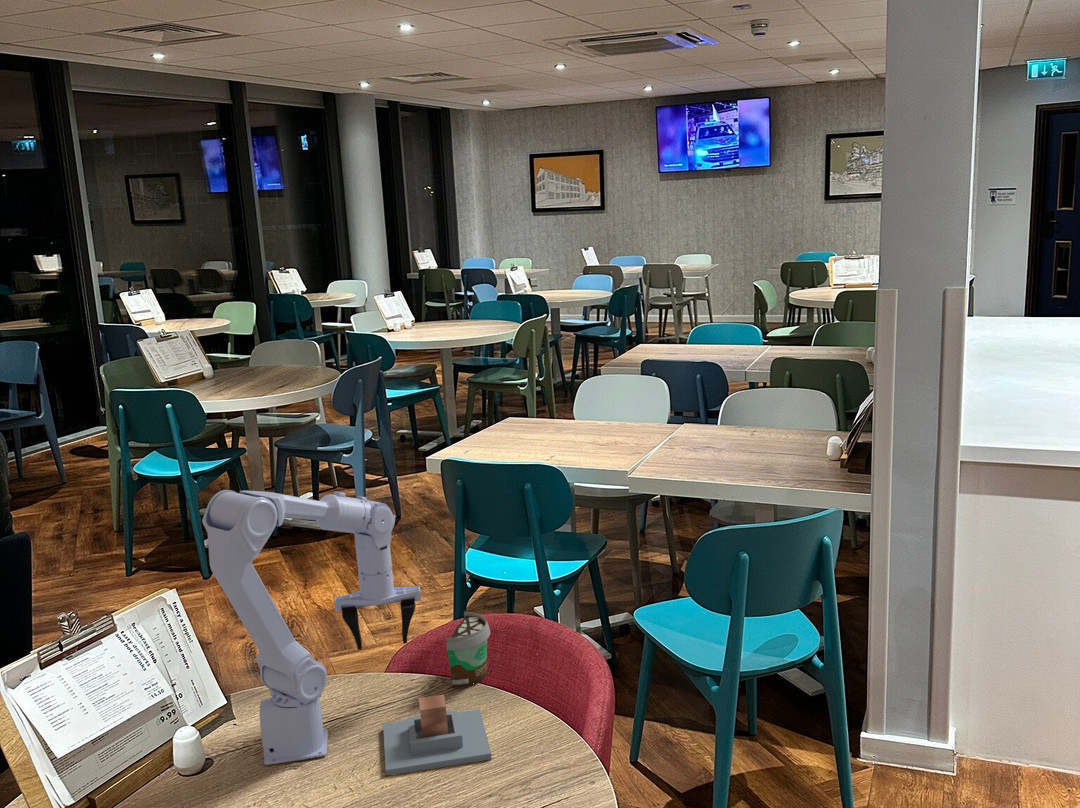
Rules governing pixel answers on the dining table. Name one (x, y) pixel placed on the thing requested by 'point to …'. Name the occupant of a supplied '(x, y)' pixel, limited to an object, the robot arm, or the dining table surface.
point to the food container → (468, 651)
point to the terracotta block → (433, 716)
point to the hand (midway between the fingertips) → (382, 644)
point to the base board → (435, 743)
